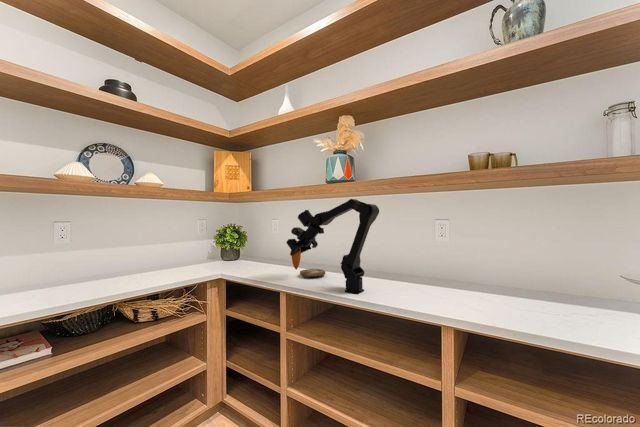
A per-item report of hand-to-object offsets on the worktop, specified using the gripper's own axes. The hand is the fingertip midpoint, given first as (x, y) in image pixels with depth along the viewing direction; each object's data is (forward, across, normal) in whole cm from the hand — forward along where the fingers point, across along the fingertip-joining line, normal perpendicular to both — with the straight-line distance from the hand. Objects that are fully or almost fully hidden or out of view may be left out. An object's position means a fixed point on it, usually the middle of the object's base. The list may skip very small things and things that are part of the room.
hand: (294, 254), depth 137 cm
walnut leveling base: (+8, -13, +11) cm, 19 cm away
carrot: (+5, 0, +6) cm, 8 cm away
